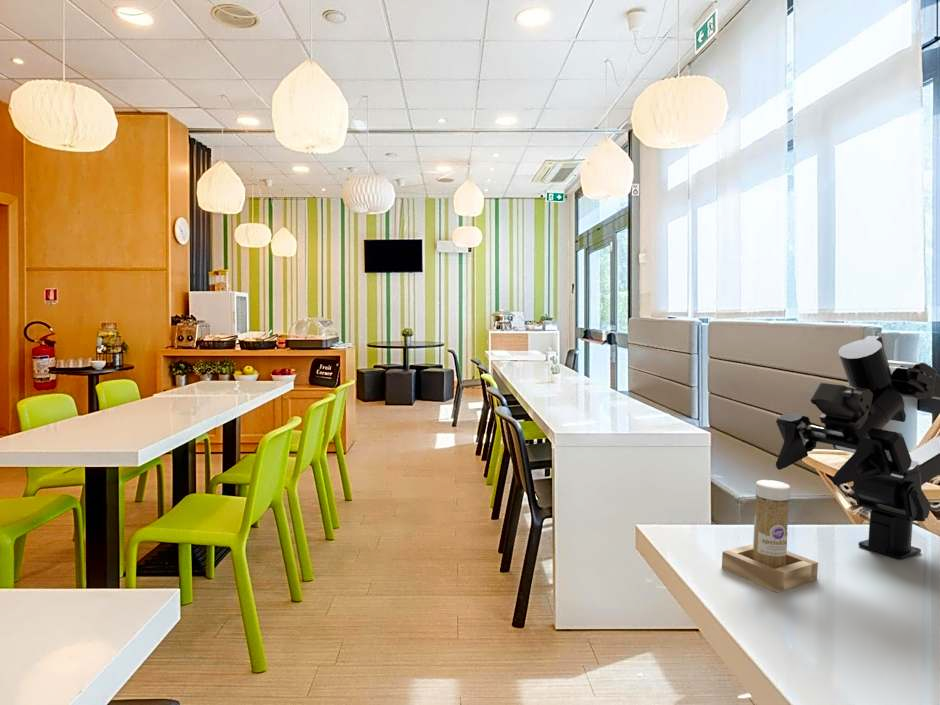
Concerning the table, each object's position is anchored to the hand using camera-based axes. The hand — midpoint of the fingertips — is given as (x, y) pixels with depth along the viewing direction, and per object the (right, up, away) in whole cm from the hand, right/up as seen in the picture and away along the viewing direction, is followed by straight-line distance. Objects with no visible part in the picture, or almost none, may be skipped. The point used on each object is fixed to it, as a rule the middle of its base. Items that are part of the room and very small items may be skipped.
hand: (804, 474), depth 92 cm
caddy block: (-5, -14, 0) cm, 15 cm away
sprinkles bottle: (-5, -15, 0) cm, 16 cm away
